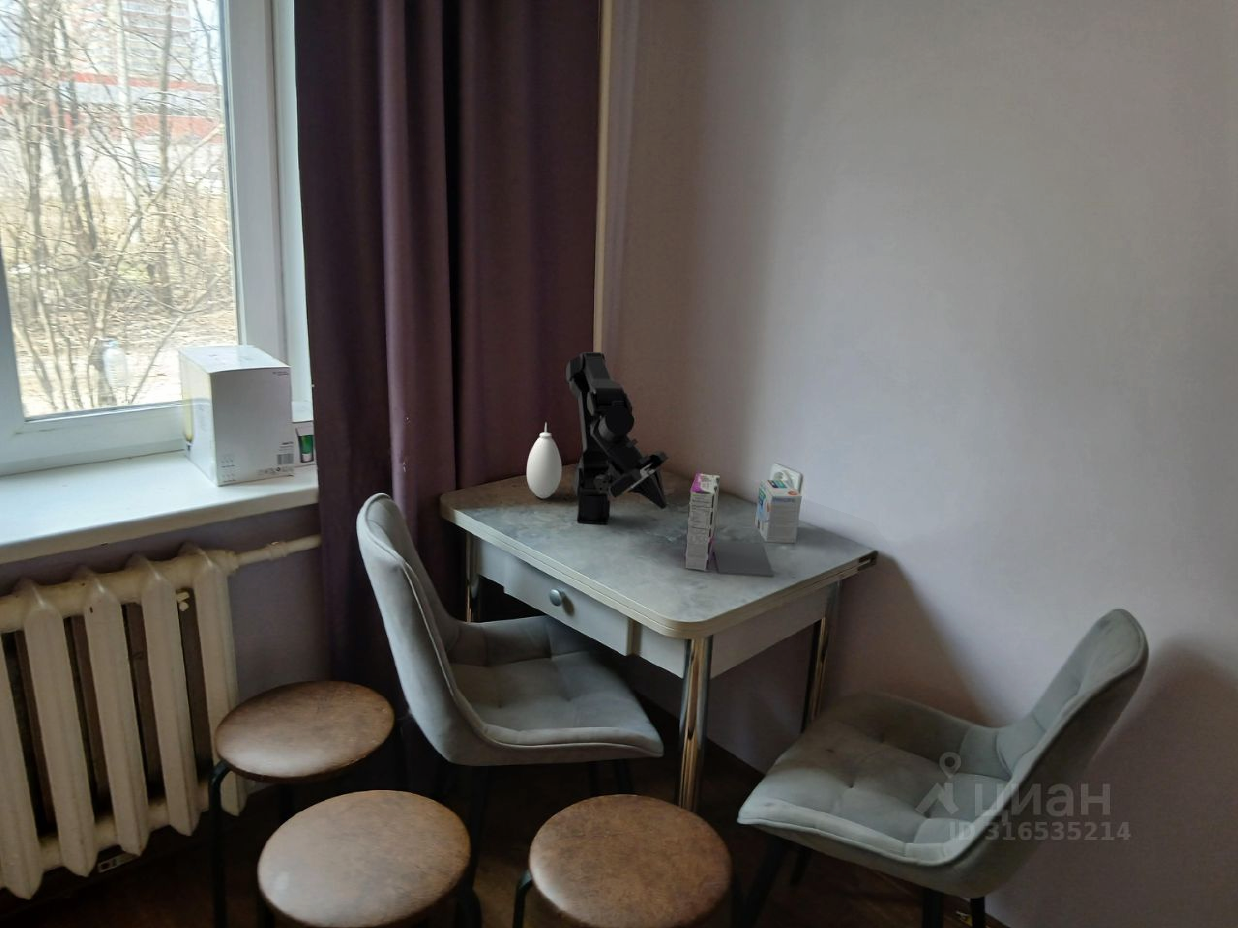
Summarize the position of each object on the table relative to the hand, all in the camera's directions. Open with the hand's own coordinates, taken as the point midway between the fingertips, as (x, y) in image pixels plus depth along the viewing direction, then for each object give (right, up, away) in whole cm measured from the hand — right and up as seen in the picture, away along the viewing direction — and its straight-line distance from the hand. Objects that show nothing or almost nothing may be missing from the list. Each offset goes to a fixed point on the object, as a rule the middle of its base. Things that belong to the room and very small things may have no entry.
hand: (664, 507), depth 173 cm
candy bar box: (+7, -11, 0) cm, 13 cm away
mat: (+15, -10, +2) cm, 19 cm away
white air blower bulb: (-27, +1, +30) cm, 40 cm away
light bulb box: (+25, -7, +17) cm, 31 cm away
